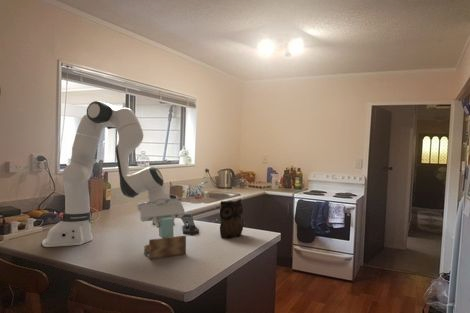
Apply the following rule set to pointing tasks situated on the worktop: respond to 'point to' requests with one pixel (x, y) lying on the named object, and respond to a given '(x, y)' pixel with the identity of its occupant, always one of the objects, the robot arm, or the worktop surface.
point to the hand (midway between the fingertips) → (165, 226)
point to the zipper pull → (189, 225)
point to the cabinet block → (166, 227)
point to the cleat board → (165, 247)
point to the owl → (231, 219)
